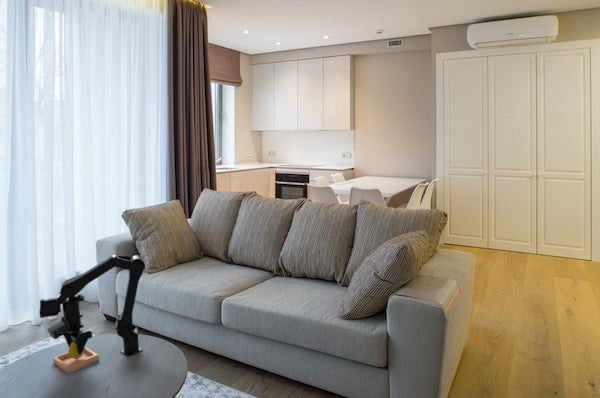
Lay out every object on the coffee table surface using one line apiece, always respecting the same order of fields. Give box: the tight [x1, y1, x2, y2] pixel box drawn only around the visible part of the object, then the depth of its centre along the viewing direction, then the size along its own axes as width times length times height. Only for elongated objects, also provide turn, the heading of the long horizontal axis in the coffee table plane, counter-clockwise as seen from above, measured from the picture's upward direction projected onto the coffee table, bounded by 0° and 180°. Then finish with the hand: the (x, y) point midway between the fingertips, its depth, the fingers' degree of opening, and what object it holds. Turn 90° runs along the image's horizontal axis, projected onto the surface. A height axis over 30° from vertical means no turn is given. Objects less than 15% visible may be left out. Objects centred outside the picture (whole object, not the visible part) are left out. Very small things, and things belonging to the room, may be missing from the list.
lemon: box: [68, 342, 86, 360], centre depth 170 cm, size 6×6×8 cm
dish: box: [52, 346, 100, 374], centre depth 170 cm, size 12×12×2 cm
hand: (75, 351), depth 170 cm, fingers open, 8 cm apart
